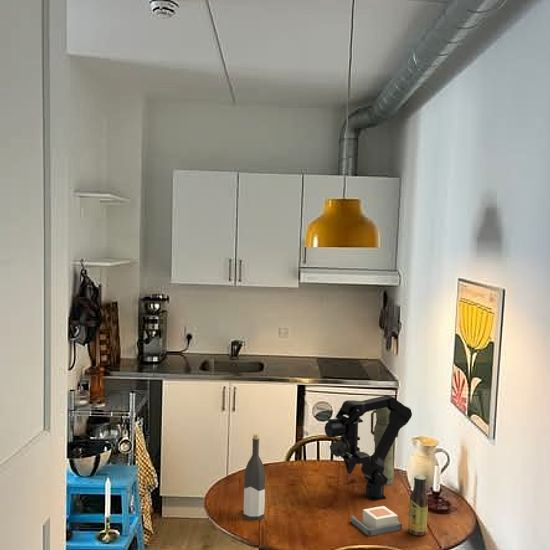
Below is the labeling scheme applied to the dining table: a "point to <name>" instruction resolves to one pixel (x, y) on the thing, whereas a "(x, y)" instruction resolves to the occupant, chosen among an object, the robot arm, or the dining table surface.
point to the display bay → (378, 529)
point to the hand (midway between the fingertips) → (349, 473)
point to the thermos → (378, 432)
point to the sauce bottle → (418, 507)
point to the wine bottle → (254, 485)
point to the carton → (379, 517)
